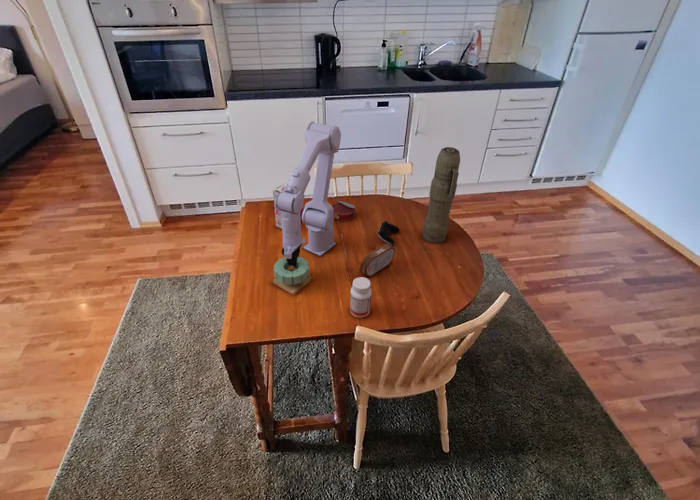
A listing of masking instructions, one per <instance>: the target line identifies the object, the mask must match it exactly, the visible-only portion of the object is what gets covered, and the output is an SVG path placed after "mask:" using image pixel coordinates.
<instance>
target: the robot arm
mask: <svg viewBox="0 0 700 500" xmlns="http://www.w3.org/2000/svg"><path fill="white" fill-rule="evenodd" d="M304 140H305V145H304V147H303V152H302V155H301V157H300V160H299V163H298V167H297V168H293V169H292V170H291V173H290V175H289V177H288V180H287V182H286V183H287V184H286V183H285V184H286V186H285V189H284V191H282V192H280V193H279V194H278V196H277V198H276V204H275V205H276V208H277V209H278V211H279V214H280V215H281V223H282V229H281V234H282V241H281V242H282V246H283V247H282V248H281V255H282V256H283V257H285V259H286V260H287V262H288V265H289V266H294V267H296V265H297V258H298V257H300V253H301V248H302V246H303V245H304V246H303V249H304V250H306V251H308V252H311V253H313V254H314V255H316V256H319V257H321V256H322V255H324V254H325V253H326V252H328V251H329V250H330V249H332V248H333V247H334V246H335V245H337V243H336V242H335V229H334V225H333V224H334V220H335V219H334V216H333V212H334V209H333V207H332V206H333V205H331V204H330V203H329V202H328V196H329V191H330V183H331V178H332V171H333V165H334V158H335V154H337V153H339V150H340V147H341V146H340V145H341V140H342V132H341V130H340V127H339V126H337V125H330V124H325V123H320V122H319V123H318V122H315V121H310V122H309V123H308V124H307V125H306V128H305V131H304ZM316 160H317V164H316V171H315V177H314V179H315V180H314V186H313V192H312V199H311V200H309V201H308V202H306V203H305V205H304V201H305V192H306V189H307V187H308V185H309V183H310V181H311V175H310V171H311V170H312V168H313V166H314V164H315V162H316ZM302 207H303V214H302V220H301V221H302V223H303V224H304V225H305V228H307V240H308V241H307V242H308V243H307V244H306V238H302V223H301V221H300V211H301V209H302Z"/></svg>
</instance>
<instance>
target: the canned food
mask: <svg viewBox="0 0 700 500" xmlns="http://www.w3.org/2000/svg"><path fill="white" fill-rule="evenodd" d="M331 199H332V200H333V201H336V202H337V203H335V204H333V205H331V206H332V207H333V209H334V212H333V216H334V220H336V221H339V222H348V221H352V220H353V219H355V217H356V206H355V205H353V204H351V203H350V202H346V201H342V200H337V199H336V198H334V197H331Z"/></svg>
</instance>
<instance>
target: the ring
mask: <svg viewBox="0 0 700 500" xmlns="http://www.w3.org/2000/svg"><path fill="white" fill-rule="evenodd" d="M288 267H289V265H288V262H287V260H286V259H285V257H284V256H283V257H281V258H279V259H278V260H277V261H275V263H274V265H273V274H274V275H273V276H274V279H276V280H278V281H279V282H281V283H283V284H284V283H285V284H289V285H292V284H298V283H301V281H302V282H303V281H304V280H305V279H307V277H308V276H310V275H309V274H310V264H309V262H308V260H307V259H306V258H304V257H301V256H299V257H298V258H297V265H296V267H294V268H295V269H296V270H294V271H287V270H288Z"/></svg>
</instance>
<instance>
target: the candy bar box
mask: <svg viewBox="0 0 700 500" xmlns="http://www.w3.org/2000/svg"><path fill="white" fill-rule="evenodd" d="M286 184H287V182H286V183H284V184H282V185H279V186H277V187H275V188H274V189H272V195H273V206H274V207H273V208H274V218H275V219H274V220H275V228H278V229H280V230H282V223H281V215H280V214H279V211H278V209H277V208H276V205H275V204H276V198H277V196H278V194H279V193H280V192H282V191H284V189H285V186H286ZM303 211H304V206H303V207H302V209H301V211H300V222H301V221H302V214H303Z"/></svg>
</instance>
